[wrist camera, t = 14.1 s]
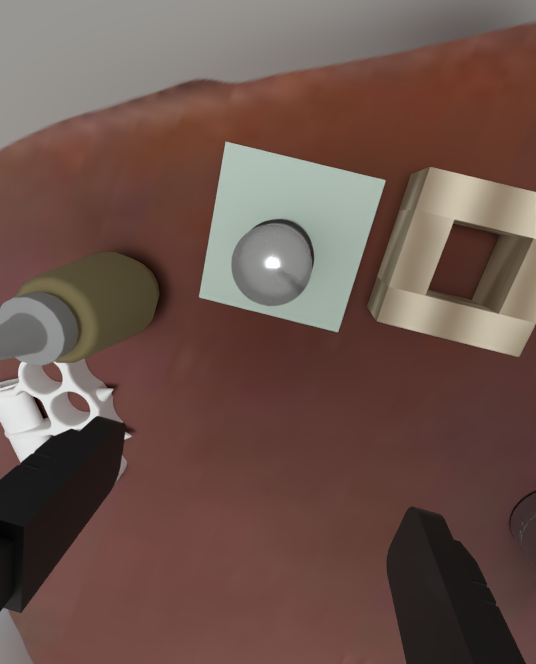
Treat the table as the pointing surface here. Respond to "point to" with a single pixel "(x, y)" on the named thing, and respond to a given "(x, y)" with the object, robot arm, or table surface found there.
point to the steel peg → (273, 262)
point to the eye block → (426, 248)
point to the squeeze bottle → (78, 310)
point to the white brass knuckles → (51, 405)
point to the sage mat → (299, 206)
